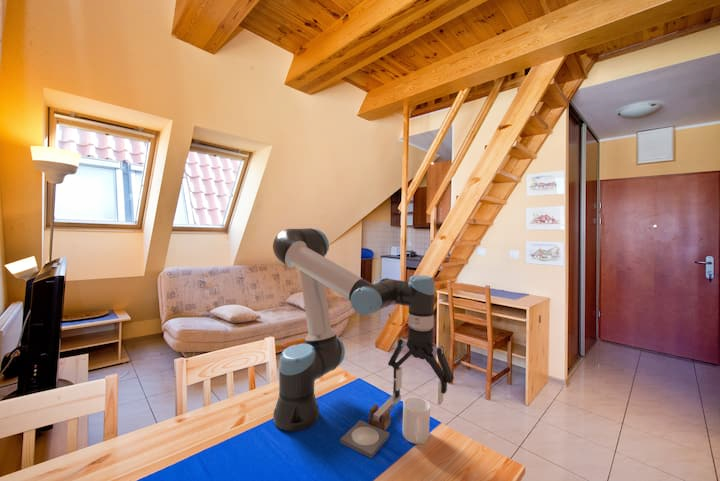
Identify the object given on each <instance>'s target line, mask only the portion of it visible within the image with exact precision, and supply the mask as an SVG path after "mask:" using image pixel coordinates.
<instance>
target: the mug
mask: <svg viewBox="0 0 720 481" xmlns="http://www.w3.org/2000/svg"><path fill="white" fill-rule="evenodd" d="M402 406H403V407H402V437H403V438H404V439H405V440H406V441H407V442H409V443H412V444H415V445H420V444H421V445H422V444H424V443H426V442H427V441H428V439H429V436H430V421H431V420H430V418H431V417H430V416H431V404H430V402H429V401H428V400H426V399H424V398H421V397H418V396H410V397H406V398H405V399H404V400H403V405H402Z"/></svg>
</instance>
